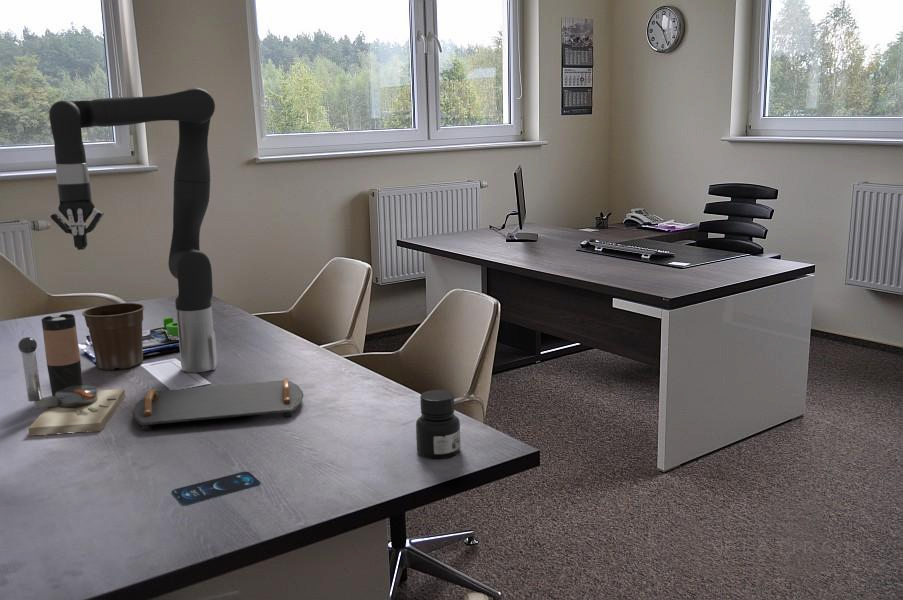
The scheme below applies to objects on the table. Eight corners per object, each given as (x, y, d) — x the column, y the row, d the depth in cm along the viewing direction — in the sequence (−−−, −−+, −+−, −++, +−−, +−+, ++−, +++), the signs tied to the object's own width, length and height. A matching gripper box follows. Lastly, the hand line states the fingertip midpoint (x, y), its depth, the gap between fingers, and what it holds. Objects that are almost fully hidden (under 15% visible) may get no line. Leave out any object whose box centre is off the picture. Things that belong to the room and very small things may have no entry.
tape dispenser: (192, 339, 264) (191, 325, 263) (169, 342, 261) (167, 328, 260) (185, 329, 277) (184, 315, 276) (163, 331, 274) (161, 318, 273)
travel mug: (71, 400, 208) (61, 321, 204) (44, 398, 209) (34, 320, 205) (90, 390, 215) (81, 314, 211) (64, 388, 217) (54, 313, 212)
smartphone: (262, 483, 158) (182, 505, 149) (262, 486, 158) (182, 508, 150) (247, 470, 164) (169, 490, 156) (247, 473, 164) (170, 492, 156)
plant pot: (75, 369, 233) (68, 313, 230) (118, 354, 248) (112, 300, 244) (121, 375, 227) (114, 317, 224) (162, 359, 242) (156, 304, 238)
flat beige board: (125, 396, 210) (124, 387, 209) (101, 431, 186) (99, 421, 186) (61, 400, 208) (60, 391, 207) (29, 436, 184) (28, 426, 184)
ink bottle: (444, 464, 165) (442, 406, 163) (407, 455, 170) (405, 398, 167) (469, 447, 173) (468, 391, 171) (433, 439, 178) (432, 385, 175)
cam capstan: (112, 403, 198) (104, 332, 194) (45, 421, 187) (35, 346, 183) (87, 392, 206) (79, 324, 203) (22, 409, 196) (12, 337, 192)
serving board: (127, 437, 184) (124, 410, 183) (142, 402, 206) (139, 378, 205) (305, 420, 192) (304, 394, 190) (302, 389, 214) (300, 365, 213)
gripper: (104, 179, 218) (111, 246, 221) (50, 181, 216) (58, 248, 220) (97, 181, 210) (104, 250, 214) (41, 183, 209) (49, 252, 212)
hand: (81, 249), depth 217 cm, fingers closed
